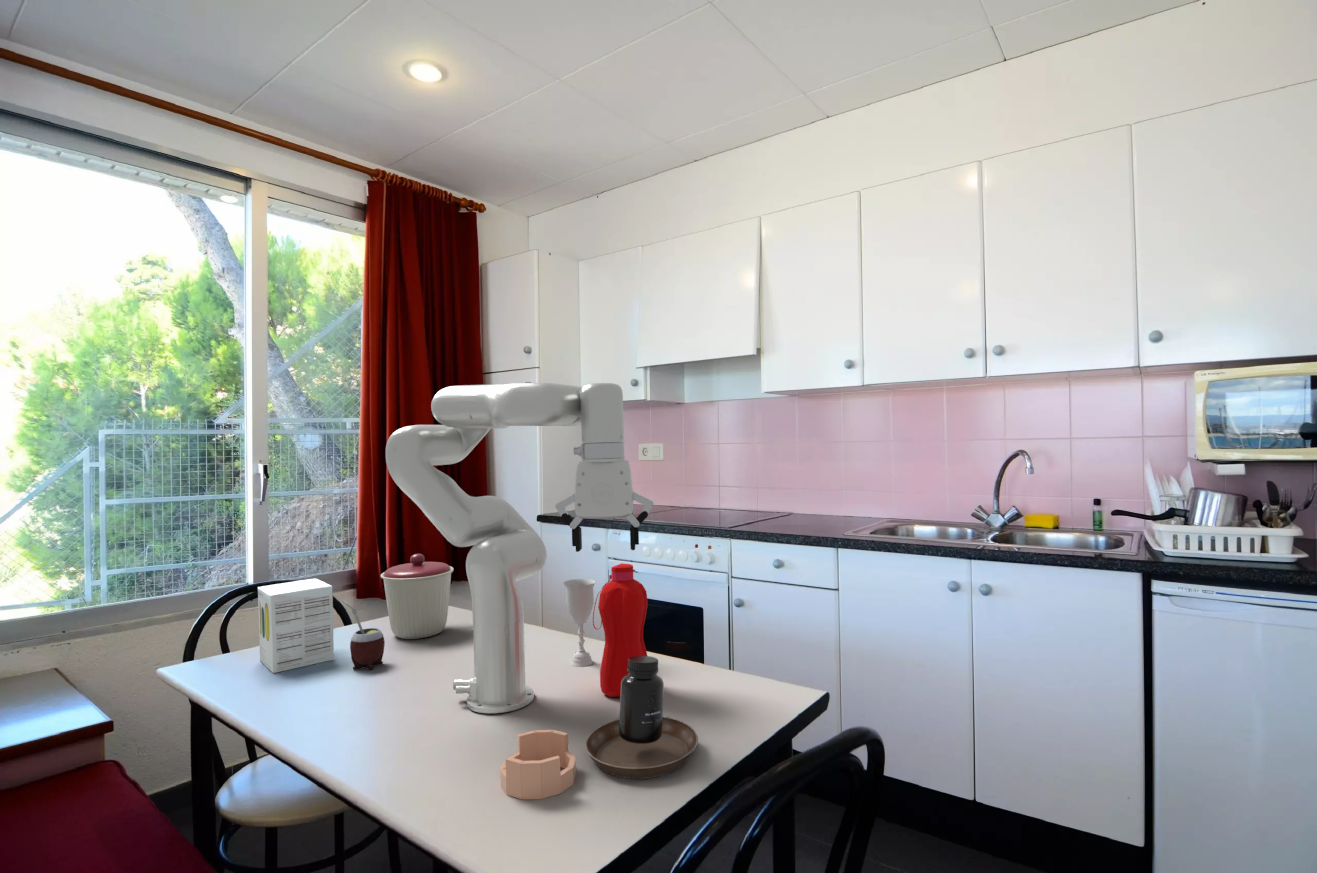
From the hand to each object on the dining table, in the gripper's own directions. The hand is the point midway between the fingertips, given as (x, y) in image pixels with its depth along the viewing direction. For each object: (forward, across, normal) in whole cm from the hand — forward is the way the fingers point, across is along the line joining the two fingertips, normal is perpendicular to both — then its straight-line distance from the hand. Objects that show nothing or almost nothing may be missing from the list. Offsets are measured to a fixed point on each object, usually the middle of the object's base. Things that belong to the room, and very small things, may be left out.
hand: (605, 549), depth 118 cm
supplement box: (+31, -77, +38) cm, 91 cm away
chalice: (+31, -9, +31) cm, 44 cm away
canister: (+31, -55, +57) cm, 85 cm away
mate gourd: (+31, -58, +32) cm, 73 cm away
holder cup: (+30, -9, -20) cm, 37 cm away
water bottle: (+31, +1, +14) cm, 34 cm away
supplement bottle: (+28, +6, -13) cm, 31 cm away
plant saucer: (+31, +6, -13) cm, 34 cm away
